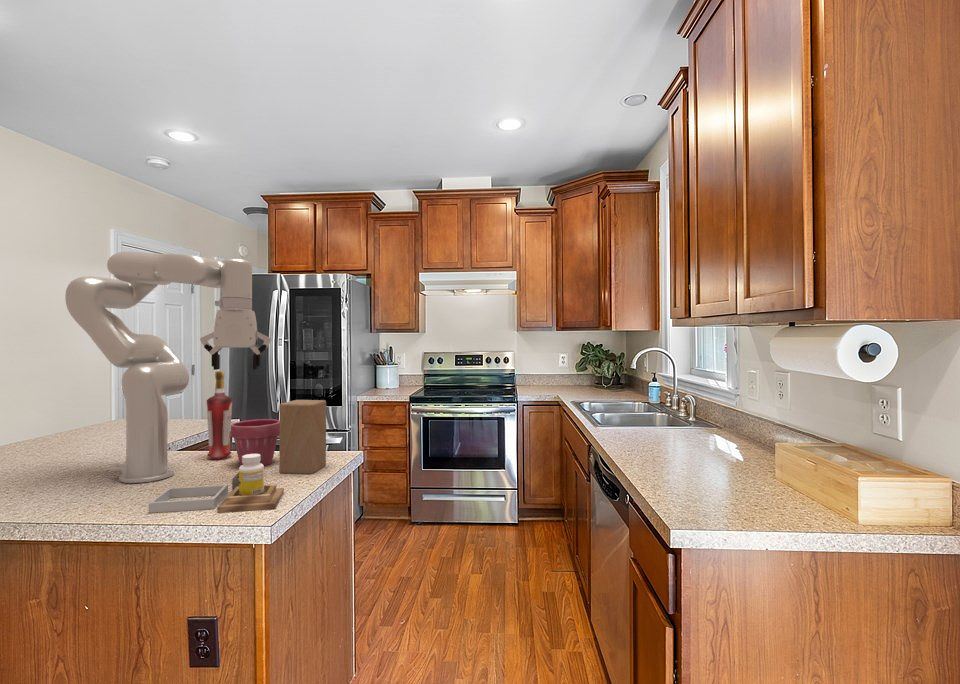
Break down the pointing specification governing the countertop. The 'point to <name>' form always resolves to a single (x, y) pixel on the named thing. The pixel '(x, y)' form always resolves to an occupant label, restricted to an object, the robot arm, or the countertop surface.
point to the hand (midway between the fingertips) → (236, 369)
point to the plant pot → (256, 438)
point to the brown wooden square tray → (251, 500)
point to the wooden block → (302, 436)
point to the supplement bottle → (251, 475)
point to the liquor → (219, 420)
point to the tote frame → (184, 505)
